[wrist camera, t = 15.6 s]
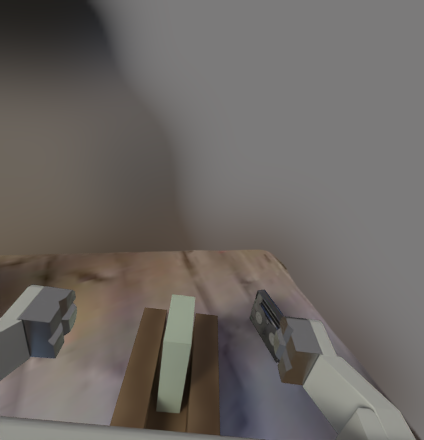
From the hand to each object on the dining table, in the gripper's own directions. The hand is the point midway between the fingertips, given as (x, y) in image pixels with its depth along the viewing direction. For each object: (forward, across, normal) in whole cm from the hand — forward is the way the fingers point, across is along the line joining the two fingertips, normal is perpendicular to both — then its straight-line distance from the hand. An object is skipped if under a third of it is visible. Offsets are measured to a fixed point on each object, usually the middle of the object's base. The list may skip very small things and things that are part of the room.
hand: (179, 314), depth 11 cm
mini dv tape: (+21, -14, +25) cm, 36 cm away
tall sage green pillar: (+12, 0, +24) cm, 27 cm away
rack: (+12, 0, +25) cm, 28 cm away
